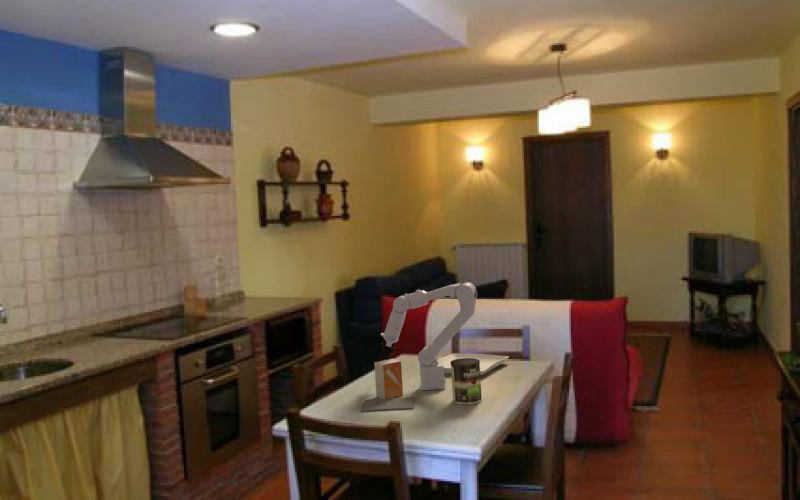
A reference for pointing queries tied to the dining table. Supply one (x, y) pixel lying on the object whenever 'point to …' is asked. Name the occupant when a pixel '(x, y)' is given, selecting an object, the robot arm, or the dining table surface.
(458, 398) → the coffee can
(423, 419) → the dining table surface
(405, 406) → the mat
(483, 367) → the square plate
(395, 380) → the small box
